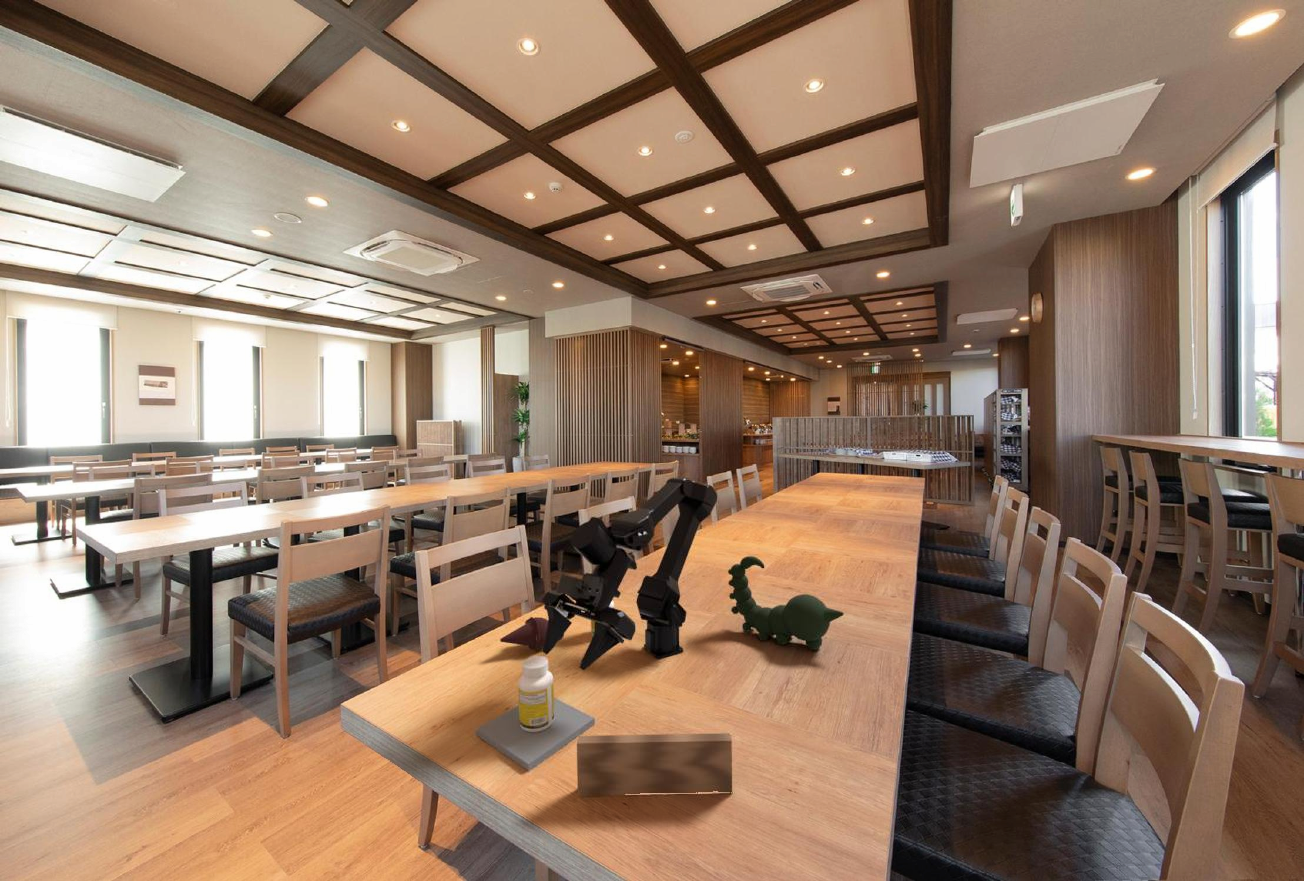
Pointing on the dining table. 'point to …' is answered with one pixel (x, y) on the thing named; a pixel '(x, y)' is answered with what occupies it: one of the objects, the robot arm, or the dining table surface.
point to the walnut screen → (654, 764)
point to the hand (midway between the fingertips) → (562, 660)
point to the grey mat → (534, 734)
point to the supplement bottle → (536, 695)
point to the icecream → (529, 633)
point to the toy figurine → (780, 611)
